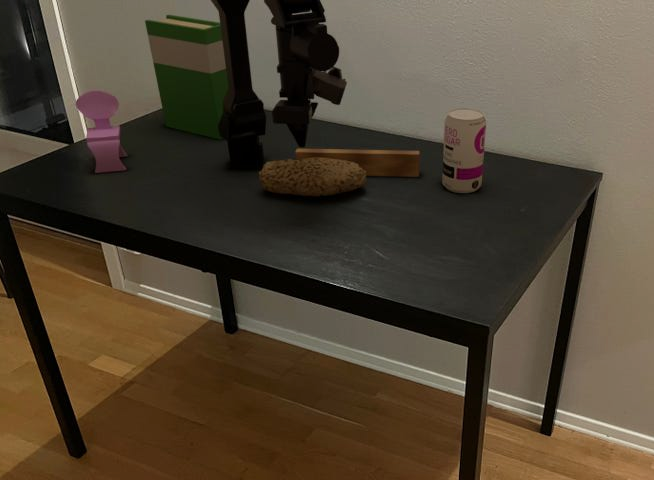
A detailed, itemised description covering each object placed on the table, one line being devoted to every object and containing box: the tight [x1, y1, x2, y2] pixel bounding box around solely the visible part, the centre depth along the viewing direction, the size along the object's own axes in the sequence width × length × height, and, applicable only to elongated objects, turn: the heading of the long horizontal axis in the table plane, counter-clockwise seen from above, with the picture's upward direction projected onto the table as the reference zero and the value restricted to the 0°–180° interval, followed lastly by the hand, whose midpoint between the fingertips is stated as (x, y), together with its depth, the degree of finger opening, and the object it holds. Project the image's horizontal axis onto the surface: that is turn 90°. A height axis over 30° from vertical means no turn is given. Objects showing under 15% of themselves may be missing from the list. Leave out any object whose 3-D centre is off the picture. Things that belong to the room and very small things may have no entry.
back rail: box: [294, 148, 420, 178], centre depth 151 cm, size 26×2×5 cm, turn 89°
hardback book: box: [144, 14, 228, 140], centre depth 166 cm, size 18×7×24 cm, turn 61°
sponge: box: [258, 157, 368, 197], centre depth 143 cm, size 13×8×20 cm
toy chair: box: [75, 89, 128, 174], centre depth 150 cm, size 8×9×15 cm
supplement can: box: [441, 107, 487, 194], centre depth 143 cm, size 8×8×15 cm
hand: (302, 146), depth 131 cm, fingers closed
